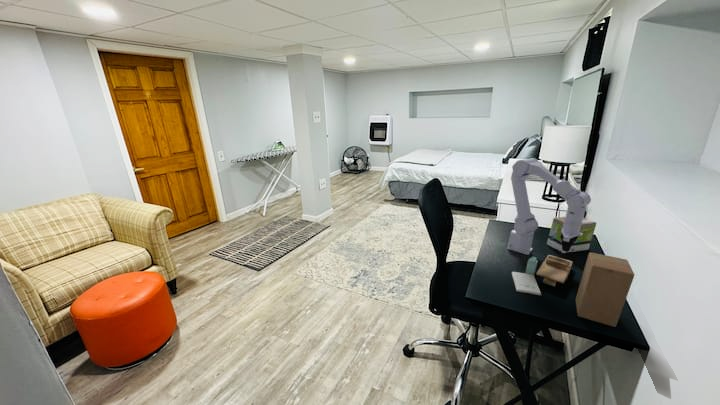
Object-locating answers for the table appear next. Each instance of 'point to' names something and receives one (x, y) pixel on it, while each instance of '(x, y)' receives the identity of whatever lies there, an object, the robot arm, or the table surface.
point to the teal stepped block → (531, 266)
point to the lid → (553, 270)
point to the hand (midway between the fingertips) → (565, 250)
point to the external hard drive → (525, 283)
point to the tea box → (581, 241)
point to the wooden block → (603, 288)
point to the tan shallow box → (569, 263)
